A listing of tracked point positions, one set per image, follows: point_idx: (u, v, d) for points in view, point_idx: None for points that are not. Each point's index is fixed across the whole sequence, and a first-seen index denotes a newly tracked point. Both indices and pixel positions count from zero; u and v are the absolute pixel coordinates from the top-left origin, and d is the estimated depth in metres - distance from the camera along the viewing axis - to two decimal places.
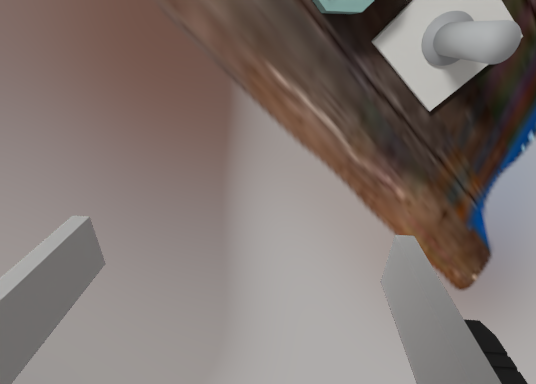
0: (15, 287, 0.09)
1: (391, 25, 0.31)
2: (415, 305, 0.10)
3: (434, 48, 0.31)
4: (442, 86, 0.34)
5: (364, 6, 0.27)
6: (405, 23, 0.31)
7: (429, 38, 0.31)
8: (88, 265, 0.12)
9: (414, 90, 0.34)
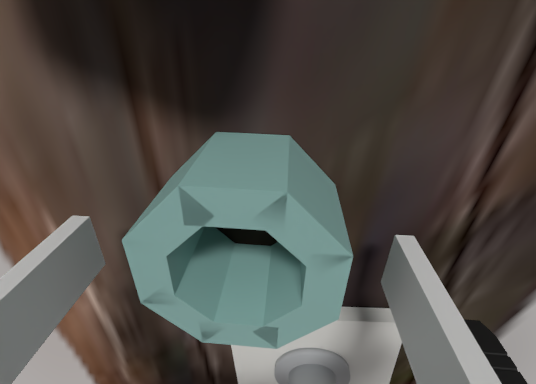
0: (15, 287, 0.09)
1: None
2: (415, 305, 0.10)
3: (289, 375, 0.20)
4: None
5: (211, 340, 0.13)
6: None
7: (292, 363, 0.19)
8: (88, 265, 0.12)
9: (239, 381, 0.22)
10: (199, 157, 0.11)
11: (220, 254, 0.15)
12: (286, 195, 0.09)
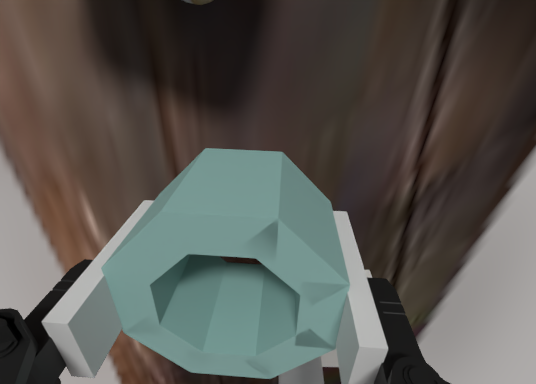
0: None
1: None
2: None
3: None
4: None
5: (200, 370, 0.12)
6: None
7: None
8: None
9: None
10: (185, 178, 0.10)
11: (211, 275, 0.14)
12: (277, 222, 0.08)
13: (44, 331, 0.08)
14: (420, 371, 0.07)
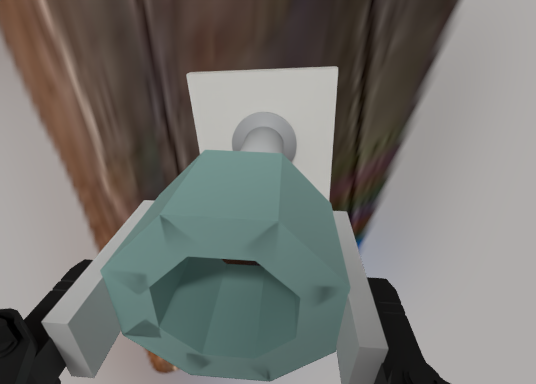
0: None
1: (216, 75, 0.21)
2: None
3: (243, 142, 0.23)
4: None
5: (200, 372, 0.12)
6: (232, 87, 0.22)
7: (245, 127, 0.22)
8: None
9: None
10: (185, 179, 0.10)
11: (210, 277, 0.14)
12: (277, 224, 0.08)
13: (44, 331, 0.08)
14: (420, 371, 0.07)
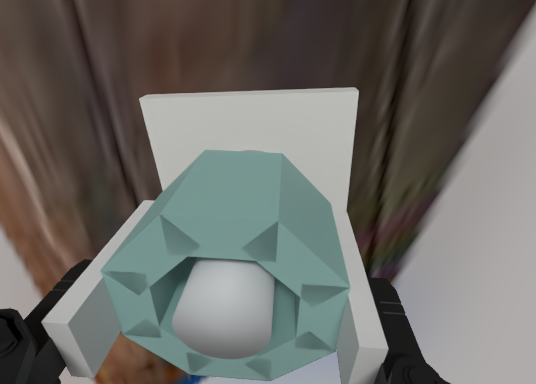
0: None
1: (182, 100, 0.15)
2: None
3: None
4: None
5: (200, 372, 0.12)
6: (206, 117, 0.15)
7: None
8: None
9: None
10: (185, 179, 0.10)
11: None
12: (277, 224, 0.08)
13: (44, 331, 0.08)
14: (420, 371, 0.07)
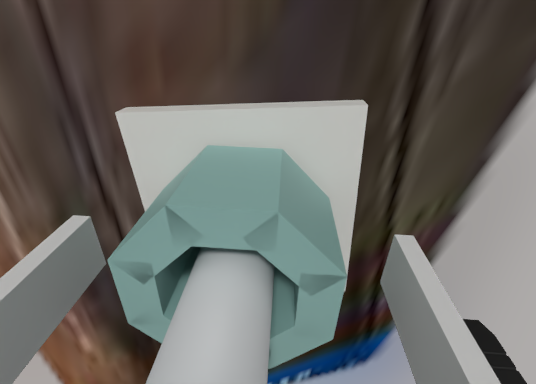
0: (16, 287, 0.09)
1: (165, 114, 0.13)
2: (414, 304, 0.10)
3: None
4: None
5: None
6: (192, 133, 0.13)
7: None
8: (89, 265, 0.12)
9: None
10: (188, 173, 0.10)
11: None
12: (277, 215, 0.08)
13: None
14: None
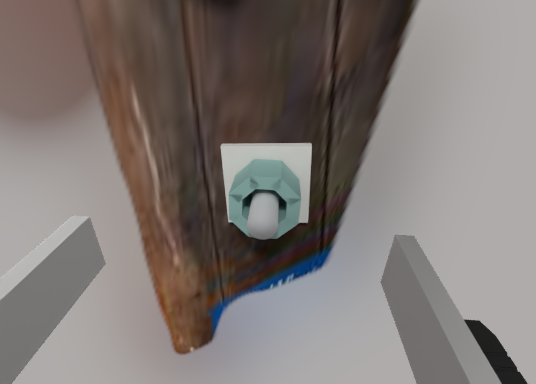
0: (15, 287, 0.09)
1: (239, 147, 0.35)
2: (415, 305, 0.10)
3: None
4: None
5: None
6: (248, 154, 0.35)
7: None
8: (88, 265, 0.12)
9: (227, 201, 0.39)
10: (252, 168, 0.33)
11: None
12: (281, 179, 0.31)
13: None
14: None
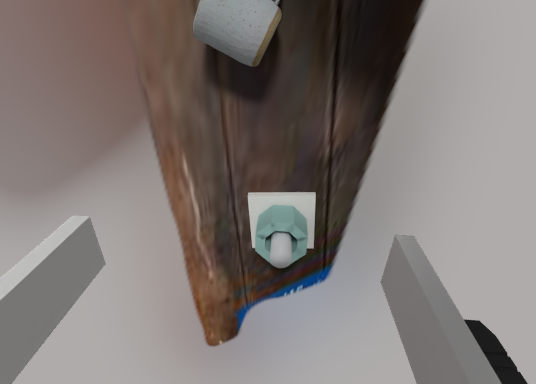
0: (15, 287, 0.09)
1: (261, 196, 0.47)
2: (415, 305, 0.10)
3: None
4: None
5: None
6: (268, 201, 0.47)
7: None
8: (88, 265, 0.12)
9: (251, 233, 0.51)
10: (272, 214, 0.45)
11: None
12: (293, 224, 0.43)
13: None
14: None
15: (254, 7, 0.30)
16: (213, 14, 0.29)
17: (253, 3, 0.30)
